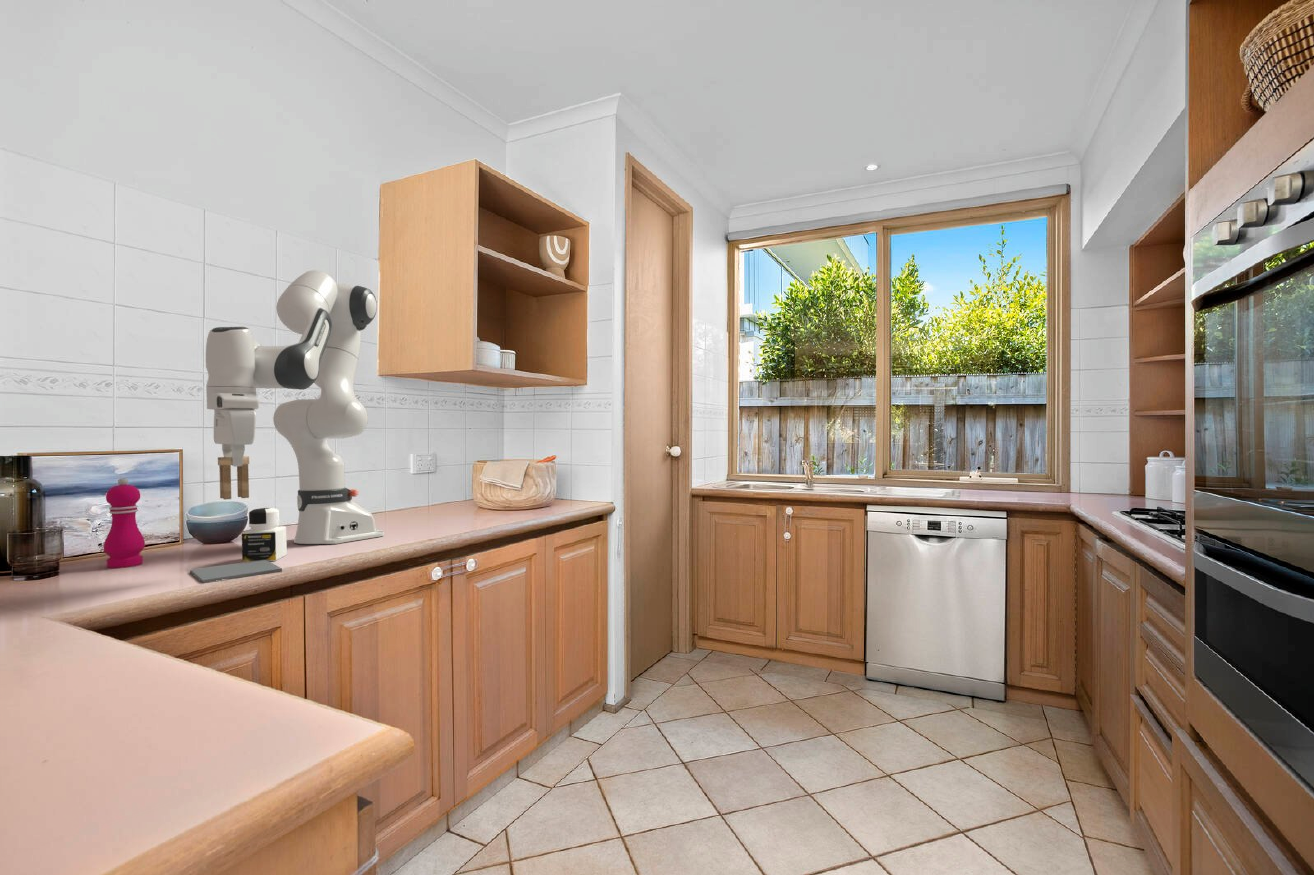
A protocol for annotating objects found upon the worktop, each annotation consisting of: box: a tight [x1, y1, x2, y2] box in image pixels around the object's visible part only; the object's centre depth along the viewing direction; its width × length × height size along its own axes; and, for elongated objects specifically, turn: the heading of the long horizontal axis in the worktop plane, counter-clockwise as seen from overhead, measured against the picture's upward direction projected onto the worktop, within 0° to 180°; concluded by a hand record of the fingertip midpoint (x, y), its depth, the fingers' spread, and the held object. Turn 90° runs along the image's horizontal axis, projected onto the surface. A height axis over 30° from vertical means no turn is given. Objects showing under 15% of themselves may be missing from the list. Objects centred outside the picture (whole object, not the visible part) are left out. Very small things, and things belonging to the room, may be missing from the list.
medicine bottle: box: [241, 507, 288, 563], centre depth 149 cm, size 7×7×12 cm
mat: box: [189, 559, 283, 583], centre depth 135 cm, size 14×14×1 cm
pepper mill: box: [103, 477, 146, 569], centre depth 144 cm, size 7×7×20 cm
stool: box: [217, 455, 250, 500], centre depth 135 cm, size 6×6×9 cm
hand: (233, 465), depth 135 cm, fingers closed on stool, 6 cm apart
